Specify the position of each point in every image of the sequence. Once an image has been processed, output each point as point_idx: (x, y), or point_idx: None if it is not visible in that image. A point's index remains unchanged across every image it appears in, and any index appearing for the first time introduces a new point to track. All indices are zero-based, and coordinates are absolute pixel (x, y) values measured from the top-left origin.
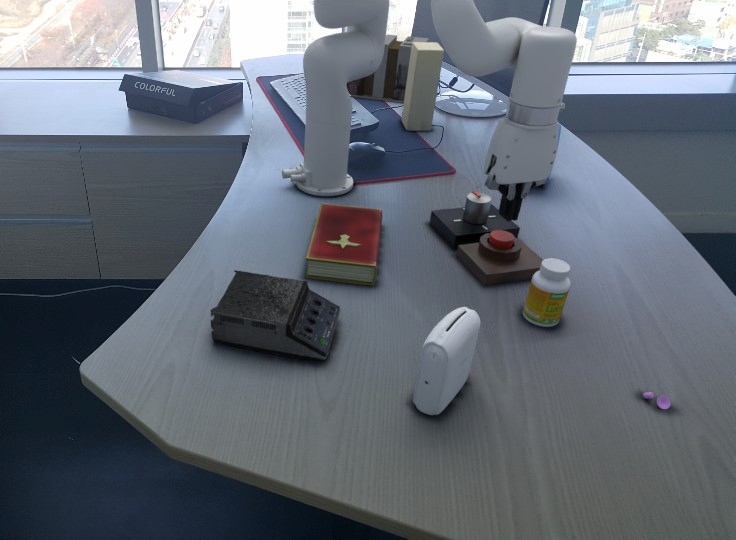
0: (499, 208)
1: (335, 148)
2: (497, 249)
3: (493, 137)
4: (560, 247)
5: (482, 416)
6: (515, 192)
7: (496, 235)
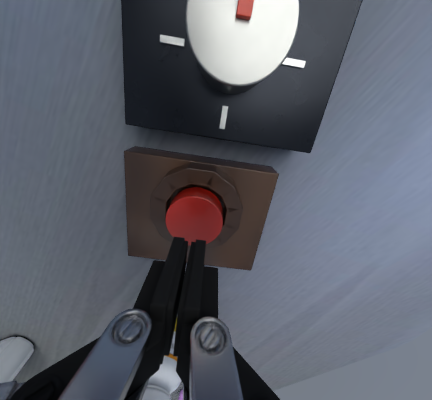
0: (151, 267)
1: None
2: (169, 233)
3: None
4: (353, 195)
5: (37, 370)
6: (180, 360)
7: (180, 217)
